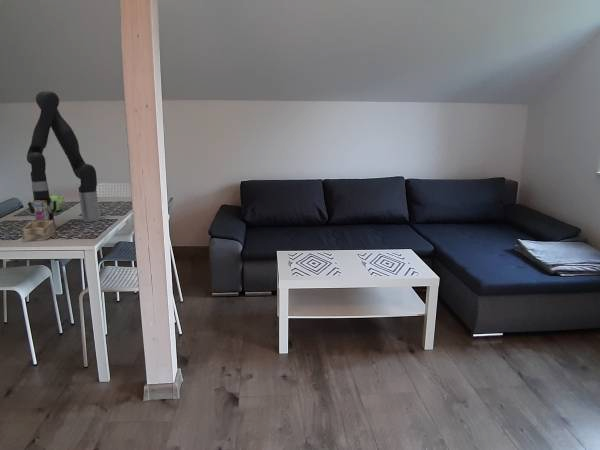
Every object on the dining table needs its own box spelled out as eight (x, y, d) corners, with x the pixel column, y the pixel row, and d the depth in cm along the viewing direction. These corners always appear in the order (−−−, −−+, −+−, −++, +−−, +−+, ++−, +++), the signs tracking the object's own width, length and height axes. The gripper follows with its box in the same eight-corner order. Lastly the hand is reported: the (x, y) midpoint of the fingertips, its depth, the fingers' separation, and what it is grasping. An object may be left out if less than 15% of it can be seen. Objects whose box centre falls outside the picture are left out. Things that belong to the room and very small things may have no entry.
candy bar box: (46, 231, 239) (42, 201, 235) (37, 231, 238) (32, 201, 234) (55, 225, 249) (51, 197, 245) (46, 226, 249) (42, 197, 245)
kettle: (68, 210, 289) (66, 193, 286) (51, 215, 276) (48, 197, 273) (50, 208, 294) (48, 192, 291) (32, 213, 280) (29, 196, 278)
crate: (54, 231, 238) (53, 220, 237) (47, 239, 223) (45, 228, 221) (31, 232, 235) (30, 222, 234) (22, 241, 220) (20, 230, 218)
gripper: (56, 187, 244) (61, 217, 248) (27, 189, 240) (32, 219, 244) (53, 189, 237) (58, 220, 241) (23, 191, 233) (28, 222, 237)
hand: (45, 219), depth 243 cm, fingers closed on candy bar box, 5 cm apart
